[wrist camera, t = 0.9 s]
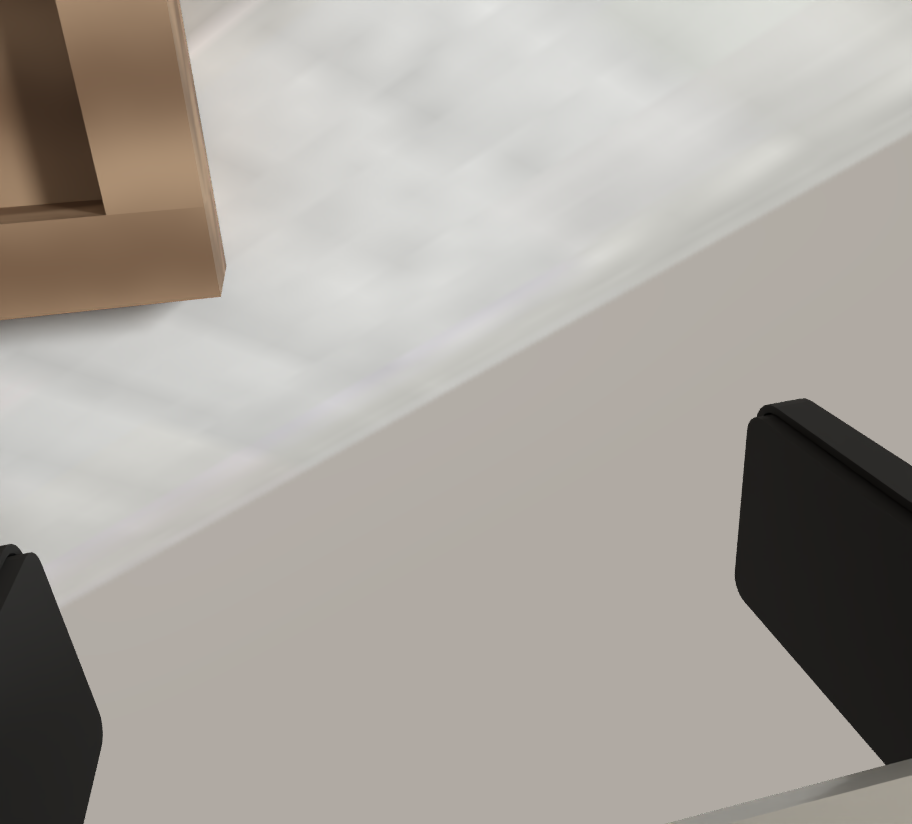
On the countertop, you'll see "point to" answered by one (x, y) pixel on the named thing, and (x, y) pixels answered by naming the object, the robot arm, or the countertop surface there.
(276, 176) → the countertop surface
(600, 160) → the countertop surface
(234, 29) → the countertop surface
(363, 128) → the countertop surface
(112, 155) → the box
